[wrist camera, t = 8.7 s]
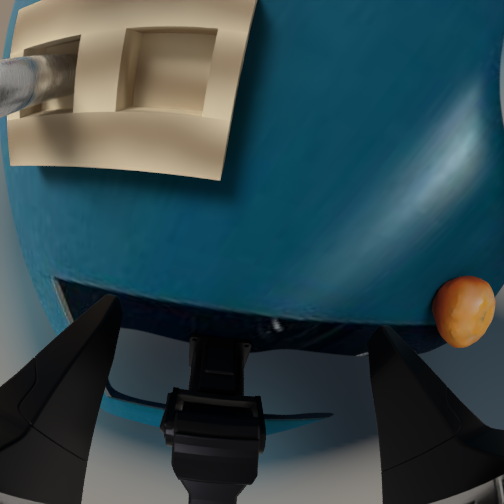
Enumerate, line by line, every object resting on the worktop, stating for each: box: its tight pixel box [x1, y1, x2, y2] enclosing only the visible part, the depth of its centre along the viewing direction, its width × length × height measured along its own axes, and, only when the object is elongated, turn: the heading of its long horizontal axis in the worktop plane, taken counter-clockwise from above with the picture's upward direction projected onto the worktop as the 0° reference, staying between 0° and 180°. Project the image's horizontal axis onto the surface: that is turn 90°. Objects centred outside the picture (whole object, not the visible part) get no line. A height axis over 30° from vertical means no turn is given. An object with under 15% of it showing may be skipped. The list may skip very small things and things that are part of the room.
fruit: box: [432, 276, 496, 348], centre depth 23 cm, size 8×8×8 cm
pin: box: [0, 54, 78, 118], centre depth 9 cm, size 3×3×8 cm
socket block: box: [7, 0, 257, 181], centre depth 12 cm, size 12×16×3 cm
